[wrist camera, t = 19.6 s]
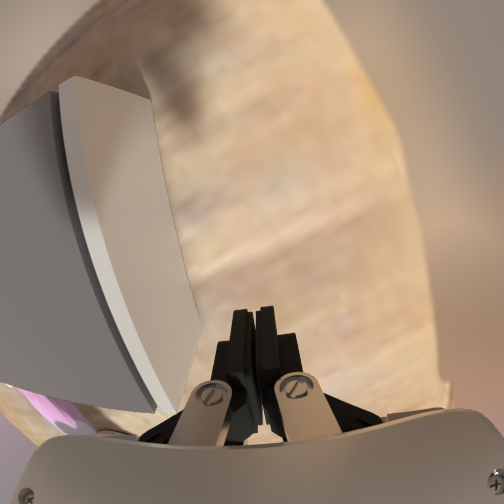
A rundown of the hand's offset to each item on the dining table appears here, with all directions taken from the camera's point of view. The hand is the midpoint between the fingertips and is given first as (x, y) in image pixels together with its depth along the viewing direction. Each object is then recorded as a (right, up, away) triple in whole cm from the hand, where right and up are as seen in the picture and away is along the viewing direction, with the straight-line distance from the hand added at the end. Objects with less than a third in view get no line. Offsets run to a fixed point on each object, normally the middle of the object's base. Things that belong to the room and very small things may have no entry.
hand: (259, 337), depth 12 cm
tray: (-15, +4, +9) cm, 18 cm away
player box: (-16, +4, +10) cm, 19 cm away
